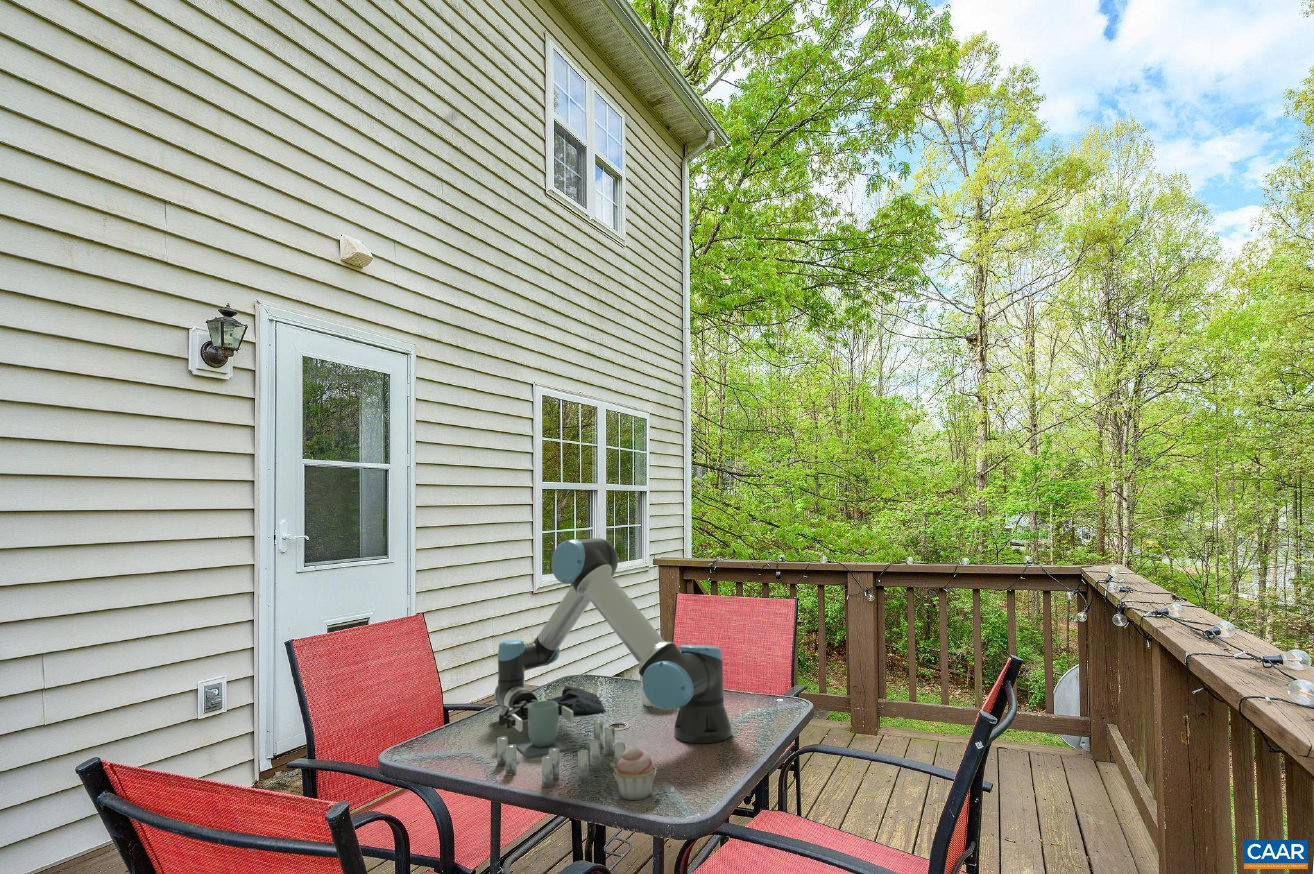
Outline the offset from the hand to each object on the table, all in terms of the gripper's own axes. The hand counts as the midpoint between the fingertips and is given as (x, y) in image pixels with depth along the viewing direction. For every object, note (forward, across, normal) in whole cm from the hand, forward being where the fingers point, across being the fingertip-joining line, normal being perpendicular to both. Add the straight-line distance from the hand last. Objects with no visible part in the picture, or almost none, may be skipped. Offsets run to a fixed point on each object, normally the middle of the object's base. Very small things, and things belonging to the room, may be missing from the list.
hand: (547, 721), depth 172 cm
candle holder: (-24, -44, -7) cm, 51 cm away
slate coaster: (-3, 0, -7) cm, 8 cm away
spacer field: (+14, -2, -7) cm, 16 cm away
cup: (-3, 0, -7) cm, 7 cm away
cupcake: (+37, -6, -7) cm, 38 cm away
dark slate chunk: (-36, -23, -8) cm, 43 cm away
